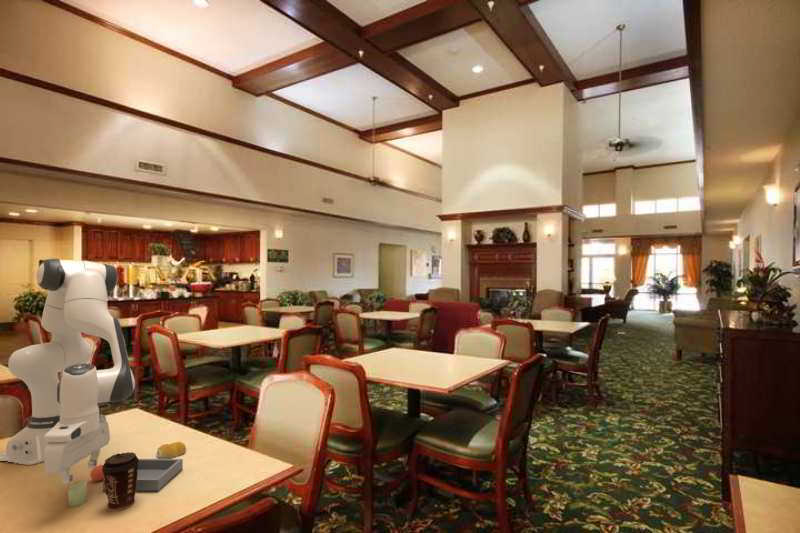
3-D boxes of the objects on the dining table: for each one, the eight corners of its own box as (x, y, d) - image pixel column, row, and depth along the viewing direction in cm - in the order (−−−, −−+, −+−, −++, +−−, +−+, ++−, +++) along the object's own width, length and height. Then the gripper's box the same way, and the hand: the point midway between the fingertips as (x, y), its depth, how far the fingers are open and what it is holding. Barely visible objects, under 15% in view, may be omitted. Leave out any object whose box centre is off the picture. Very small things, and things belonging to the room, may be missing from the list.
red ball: (86, 483, 131) (86, 468, 131) (97, 476, 136) (97, 462, 136) (101, 483, 131) (101, 468, 131) (111, 476, 136) (111, 462, 136)
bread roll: (189, 453, 153) (189, 442, 153) (161, 462, 147) (161, 450, 147) (180, 447, 159) (180, 436, 159) (153, 454, 152) (153, 443, 152)
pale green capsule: (64, 506, 119) (64, 488, 119) (75, 499, 123) (75, 481, 123) (79, 507, 119) (79, 488, 119) (89, 499, 123) (89, 481, 123)
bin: (103, 491, 127) (103, 479, 127) (133, 469, 141) (133, 458, 141) (158, 492, 126) (158, 480, 126) (182, 469, 140) (182, 458, 140)
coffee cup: (114, 496, 124) (114, 451, 124) (144, 495, 124) (145, 450, 125) (95, 514, 115) (95, 464, 115) (128, 512, 116) (128, 463, 116)
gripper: (94, 412, 131) (95, 458, 131) (38, 438, 111) (39, 493, 111) (115, 412, 131) (116, 458, 131) (63, 438, 111) (63, 492, 111)
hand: (80, 474), depth 121 cm, fingers open, 8 cm apart
